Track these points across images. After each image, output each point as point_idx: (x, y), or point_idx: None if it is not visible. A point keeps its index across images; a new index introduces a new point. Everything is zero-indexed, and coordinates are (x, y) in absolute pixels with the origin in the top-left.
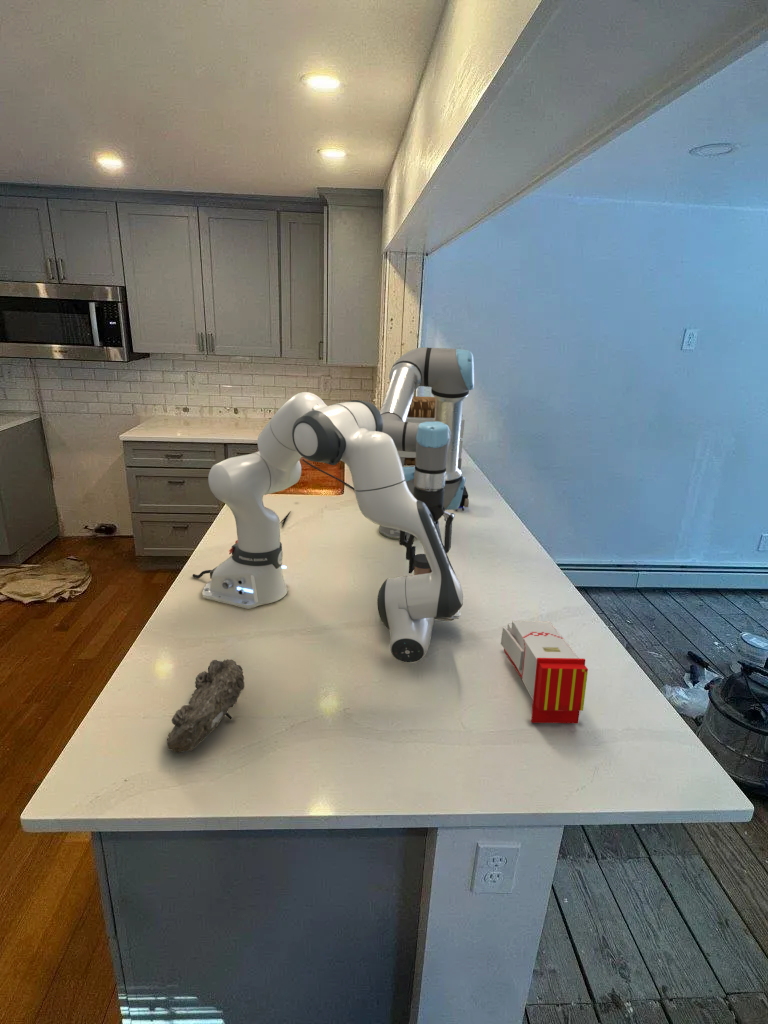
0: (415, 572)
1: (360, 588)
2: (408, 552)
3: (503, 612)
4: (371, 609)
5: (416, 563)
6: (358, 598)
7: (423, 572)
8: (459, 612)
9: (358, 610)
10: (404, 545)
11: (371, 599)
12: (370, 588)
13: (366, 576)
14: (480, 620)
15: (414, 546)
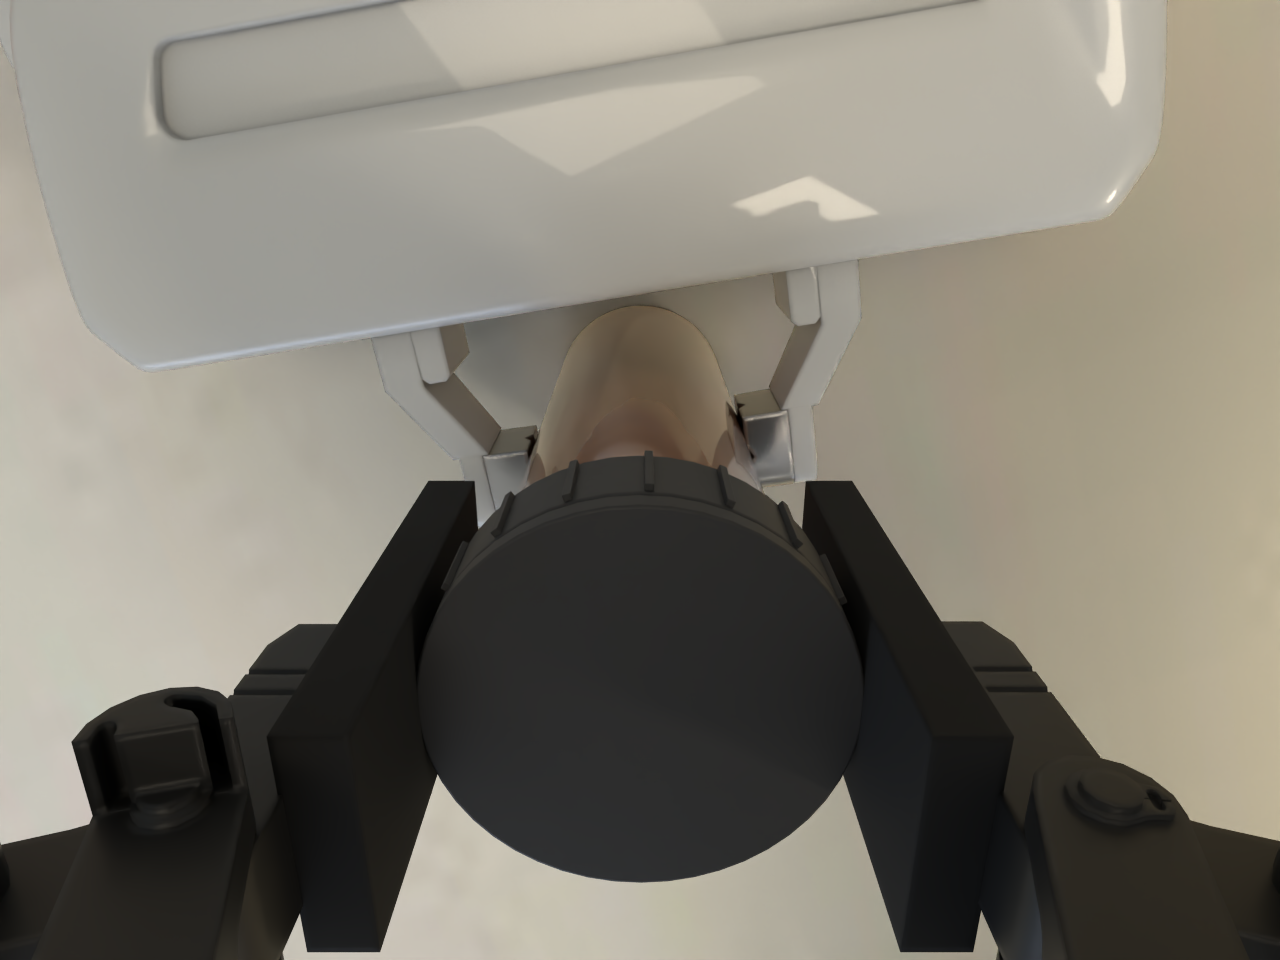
0: (739, 475)
1: (1243, 574)
2: (1011, 720)
3: (5, 636)
4: (1085, 252)
5: (745, 504)
6: (1239, 401)
7: (594, 458)
8: (4, 42)
9: (1209, 182)
10: (1224, 841)
11: (1115, 429)
12: (1154, 605)
13: (1217, 773)
14: (116, 446)
15: (929, 941)
